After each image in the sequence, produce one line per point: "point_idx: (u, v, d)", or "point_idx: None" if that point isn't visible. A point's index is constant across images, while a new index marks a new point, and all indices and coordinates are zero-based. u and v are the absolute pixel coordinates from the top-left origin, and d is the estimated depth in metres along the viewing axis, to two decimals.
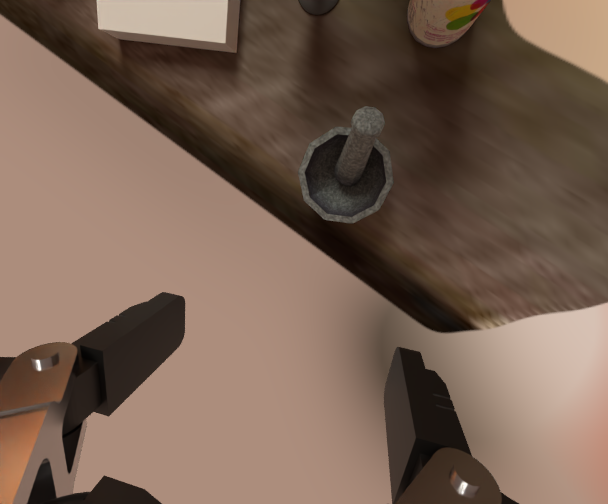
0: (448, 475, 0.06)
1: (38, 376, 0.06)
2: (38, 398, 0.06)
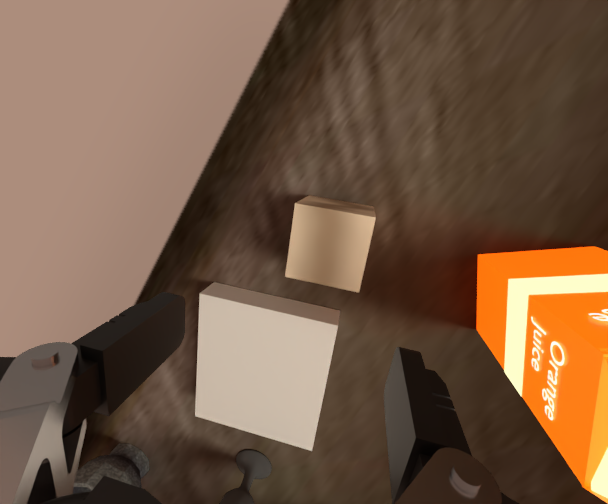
0: (448, 475, 0.06)
1: (38, 376, 0.06)
2: (38, 398, 0.06)
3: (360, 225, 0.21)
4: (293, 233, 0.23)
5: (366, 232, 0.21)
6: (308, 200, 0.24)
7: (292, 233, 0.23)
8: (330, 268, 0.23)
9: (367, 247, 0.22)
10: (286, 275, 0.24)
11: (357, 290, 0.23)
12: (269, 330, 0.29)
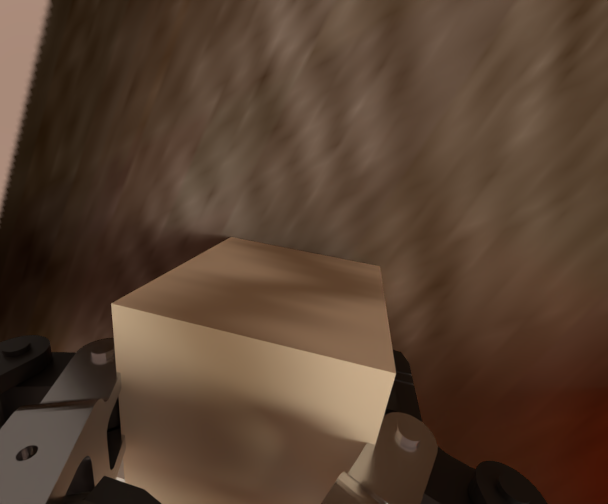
0: (392, 433, 0.06)
1: (94, 370, 0.07)
2: (105, 389, 0.06)
3: (339, 393, 0.06)
4: (125, 391, 0.07)
5: (360, 416, 0.06)
6: (197, 269, 0.09)
7: (120, 391, 0.07)
8: (248, 495, 0.07)
9: None
10: None
11: None
12: None
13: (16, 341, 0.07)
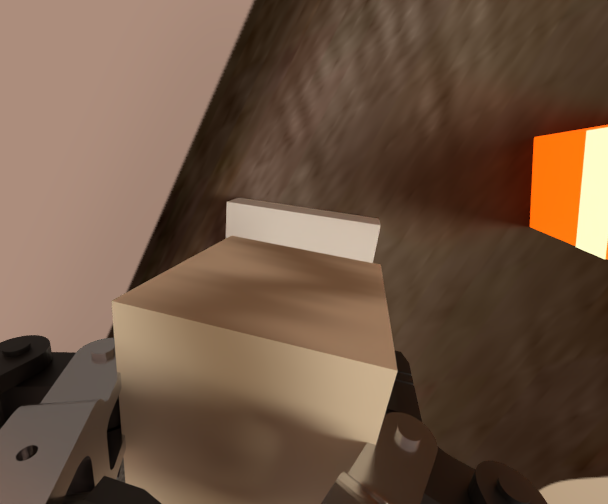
0: (392, 433, 0.06)
1: (94, 369, 0.07)
2: (105, 389, 0.06)
3: (340, 390, 0.06)
4: (125, 389, 0.07)
5: (361, 414, 0.06)
6: (198, 267, 0.09)
7: (121, 389, 0.07)
8: (249, 494, 0.07)
9: None
10: None
11: None
12: (304, 238, 0.27)
13: (17, 341, 0.07)
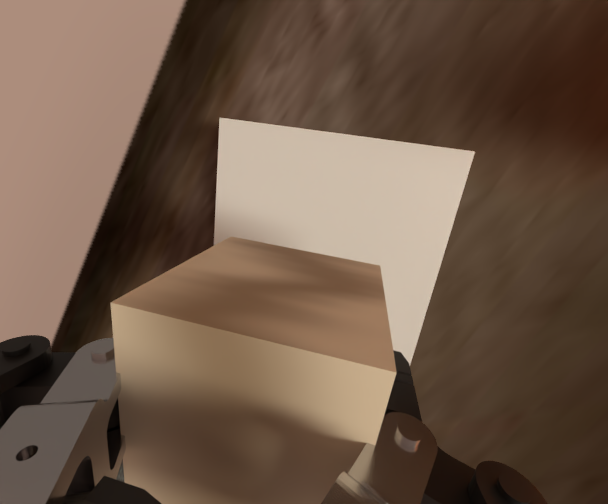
0: (392, 433, 0.06)
1: (94, 369, 0.07)
2: (105, 389, 0.06)
3: (339, 392, 0.06)
4: (124, 391, 0.07)
5: (360, 415, 0.06)
6: (197, 268, 0.08)
7: (120, 391, 0.07)
8: (248, 495, 0.07)
9: None
10: None
11: None
12: (341, 178, 0.17)
13: (17, 341, 0.07)
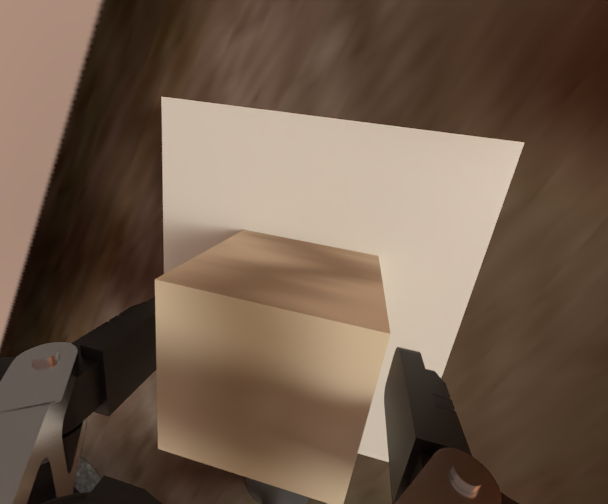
0: (448, 475, 0.06)
1: (37, 376, 0.06)
2: (38, 398, 0.06)
3: (344, 352, 0.07)
4: (162, 355, 0.08)
5: (361, 371, 0.07)
6: (219, 255, 0.10)
7: (159, 356, 0.08)
8: (266, 445, 0.08)
9: (364, 410, 0.07)
10: (160, 446, 0.09)
11: (338, 503, 0.09)
12: (331, 180, 0.12)
13: None
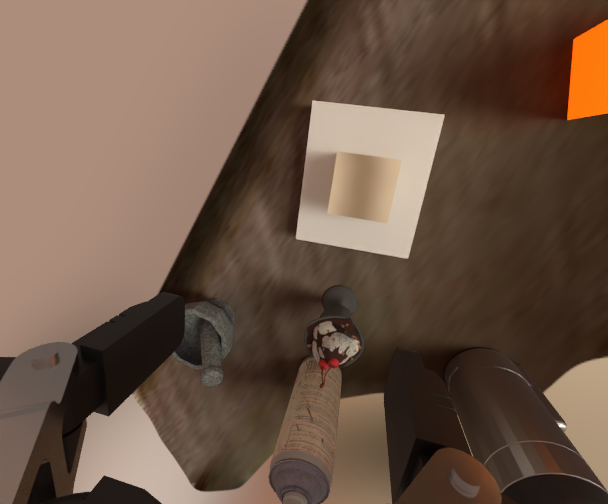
0: (448, 475, 0.06)
1: (37, 376, 0.06)
2: (38, 398, 0.06)
3: (389, 167, 0.27)
4: (335, 176, 0.28)
5: (394, 172, 0.27)
6: None
7: (334, 176, 0.28)
8: (364, 204, 0.29)
9: (394, 185, 0.28)
10: (328, 212, 0.30)
11: (386, 221, 0.29)
12: (377, 131, 0.32)
13: None
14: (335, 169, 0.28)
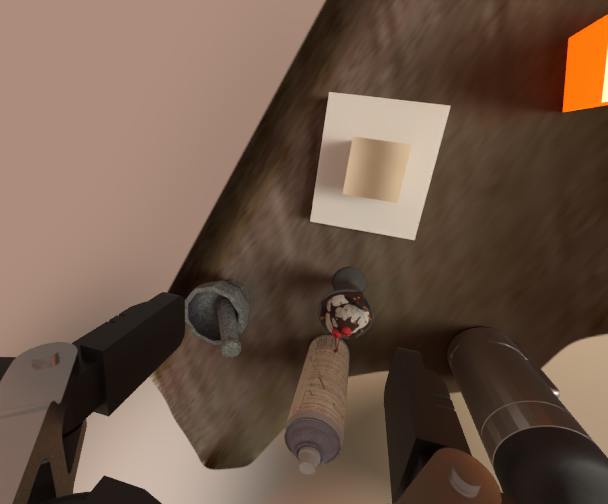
0: (448, 475, 0.06)
1: (37, 376, 0.06)
2: (37, 398, 0.06)
3: (400, 151, 0.30)
4: (350, 159, 0.31)
5: (404, 156, 0.30)
6: None
7: (349, 159, 0.31)
8: (377, 185, 0.31)
9: (404, 167, 0.30)
10: (343, 193, 0.32)
11: (396, 201, 0.32)
12: (388, 120, 0.35)
13: None
14: (351, 153, 0.31)
